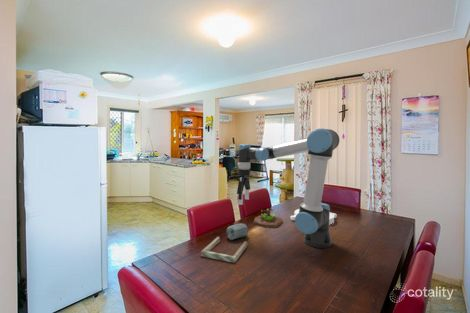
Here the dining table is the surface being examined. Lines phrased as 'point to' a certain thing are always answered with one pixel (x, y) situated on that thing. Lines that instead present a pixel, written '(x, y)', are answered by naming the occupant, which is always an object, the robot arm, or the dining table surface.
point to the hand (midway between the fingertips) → (243, 201)
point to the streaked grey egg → (237, 231)
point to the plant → (268, 220)
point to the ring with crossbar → (331, 217)
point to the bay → (219, 256)
